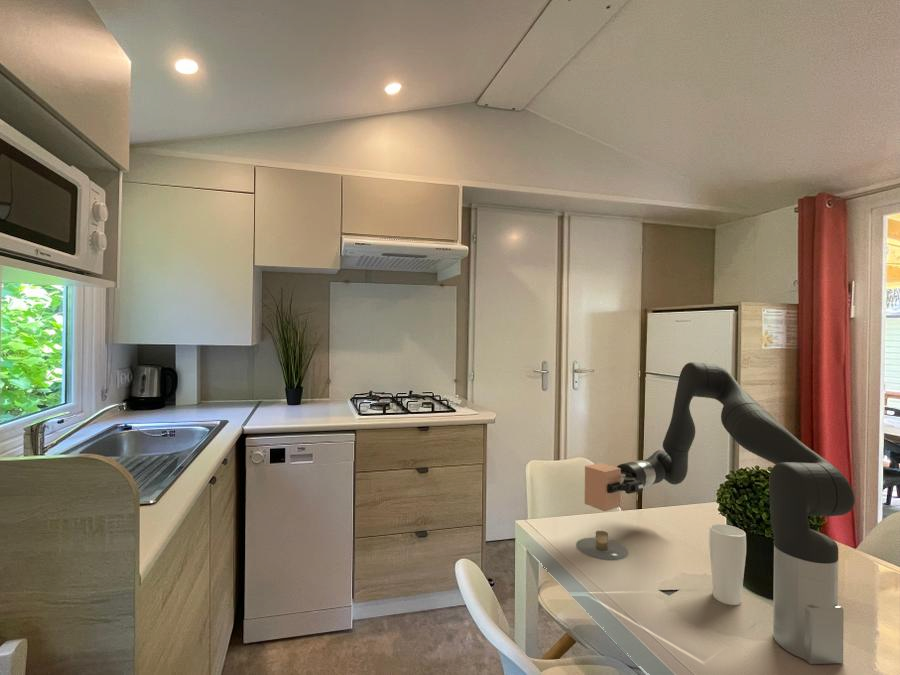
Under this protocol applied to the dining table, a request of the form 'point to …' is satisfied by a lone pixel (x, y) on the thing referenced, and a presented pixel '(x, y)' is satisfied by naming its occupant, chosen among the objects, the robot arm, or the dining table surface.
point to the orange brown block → (601, 486)
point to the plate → (612, 553)
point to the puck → (602, 540)
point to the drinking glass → (727, 562)
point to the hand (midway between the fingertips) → (596, 485)
